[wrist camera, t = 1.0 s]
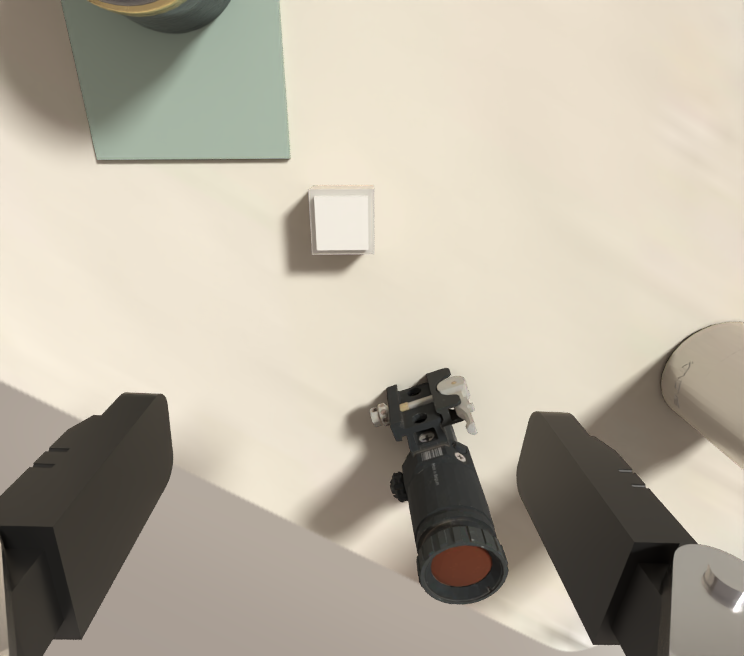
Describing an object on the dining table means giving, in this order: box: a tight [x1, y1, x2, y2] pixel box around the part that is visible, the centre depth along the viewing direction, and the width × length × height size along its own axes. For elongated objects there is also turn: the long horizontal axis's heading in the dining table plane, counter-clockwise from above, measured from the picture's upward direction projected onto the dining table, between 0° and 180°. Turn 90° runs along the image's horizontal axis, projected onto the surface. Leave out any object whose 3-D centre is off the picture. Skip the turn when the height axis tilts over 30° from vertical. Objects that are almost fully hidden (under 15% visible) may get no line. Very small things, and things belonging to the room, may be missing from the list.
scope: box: [370, 368, 508, 604], centre depth 32 cm, size 8×14×10 cm
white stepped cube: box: [308, 185, 374, 255], centre depth 30 cm, size 4×4×4 cm
